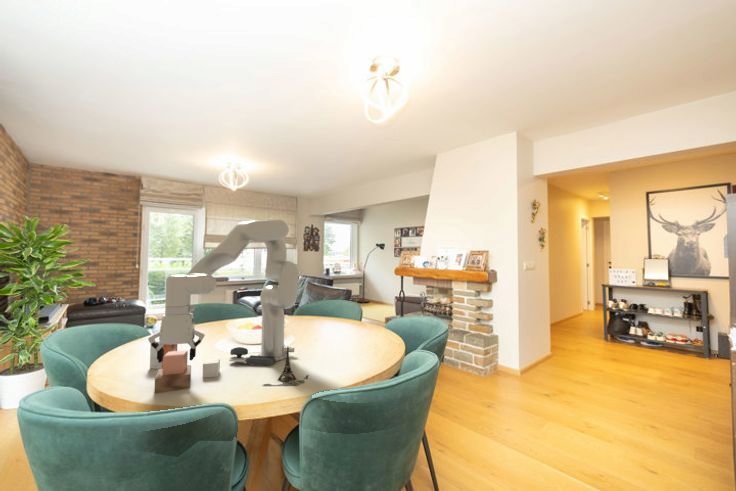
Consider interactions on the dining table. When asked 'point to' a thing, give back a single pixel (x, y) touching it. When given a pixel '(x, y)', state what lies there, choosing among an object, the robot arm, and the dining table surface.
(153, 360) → the small box
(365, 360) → the dining table surface
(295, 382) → the eiffel tower figurine
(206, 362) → the pale grey cube
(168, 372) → the terracotta cube
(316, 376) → the dining table surface
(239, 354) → the can opener
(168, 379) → the walnut base block
